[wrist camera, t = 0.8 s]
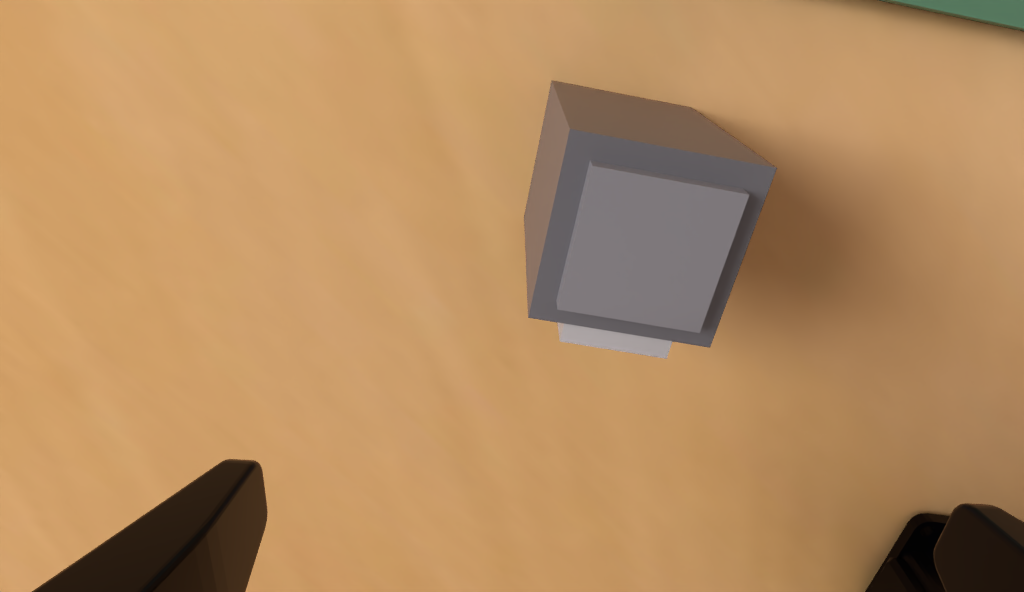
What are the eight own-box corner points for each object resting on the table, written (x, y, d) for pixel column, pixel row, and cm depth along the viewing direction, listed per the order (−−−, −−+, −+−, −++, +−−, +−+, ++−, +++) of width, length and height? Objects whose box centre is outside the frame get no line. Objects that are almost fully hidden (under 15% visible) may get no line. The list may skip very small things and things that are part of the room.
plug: (691, 107, 18) (785, 173, 12) (646, 253, 20) (708, 376, 14) (551, 80, 18) (571, 133, 11) (520, 231, 20) (523, 347, 13)
